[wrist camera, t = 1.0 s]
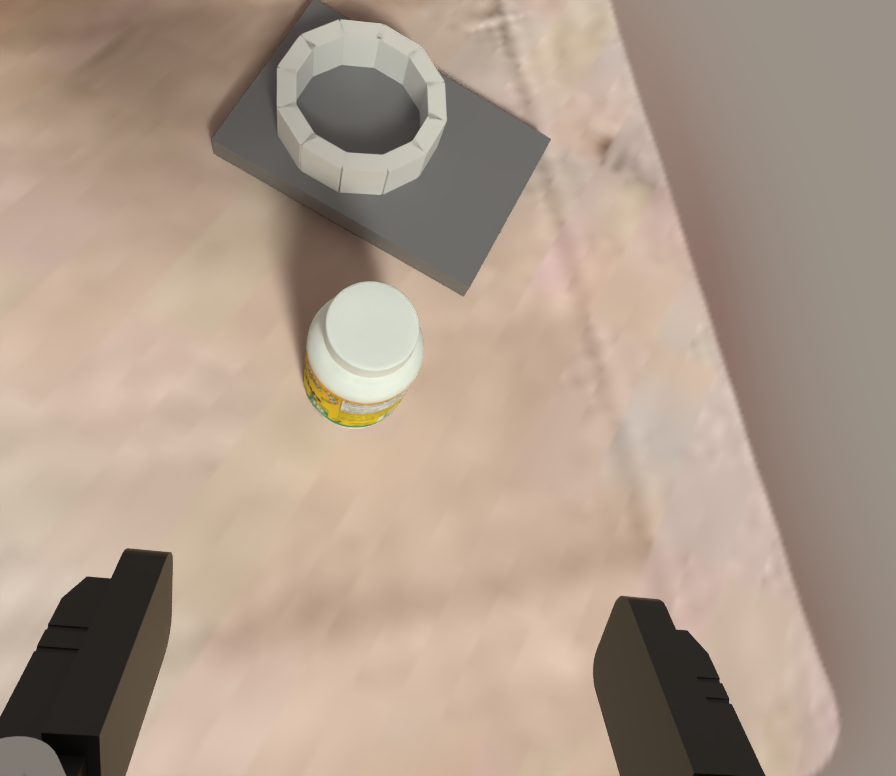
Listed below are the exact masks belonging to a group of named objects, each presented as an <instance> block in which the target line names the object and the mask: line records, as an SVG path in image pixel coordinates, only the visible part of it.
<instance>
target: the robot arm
mask: <svg viewBox="0 0 896 776" xmlns="http://www.w3.org/2000/svg"><path fill="white" fill-rule="evenodd" d="M172 575H173V556H172V553H171V552H161V551H151V550H140V549H129V548H127V549H125V550H124V552H123V554H122V556H121V558H120V560H119V562H118V564H117V567H116V569H115V571H114V573H113V575H112V578H111V579H109V578H97V577H86V578H85V579H83V580H82V581H81V582H80V583H79V584H78V585H76V586H75V587H74V588H73V589H72V590H71V591H70V592H68V593H67V594H66V595H65V596H64V597H63V598H62V599H61V601H60V603H59V605H58V606H57V608H56V610H55V612H54V614H53V616H52V618H51V620H50V622H49V624H48V628H47V630H45V632H44V633H43V635H42V637H41V639H40V641H39V643H38V645H37V650H36V651H34V653H33V655H32V657H31V659H30V660H29V662H28V664H27V666H26V668H25V670H24V672H23V674H22V676H21V678H20V680H19V682H18V684H17V686H16V687H15V689H14V691H13V693H12V695H11V697H10V699H9V701H8V703H7V705H6V707H5V709H4V711H3V713H2V714H1V716H0V776H125V775H126V772H127V769H128V766H129V763H130V760H131V757H132V754H133V751H134V748H135V745H136V742H137V739H138V735H139V732H140V729H141V726H142V723H143V720H144V717H145V714H146V711H147V708H148V705H149V702H150V699H151V695H152V692H153V689H154V686H155V683H156V680H157V677H158V674H159V671H160V668H161V665H162V662H163V659H164V655H165V652H166V648H167V644H168V639H169V634H170V627H171V617H172ZM593 679H594V686H595V690H596V694H597V697H598V701H599V704H600V708H601V711H602V715H603V718H604V722H605V725H606V729H607V732H608V736H609V739H610V742H611V746H612V749H613V753H614V756H615V760H616V763H617V767H618V770H619V774H620V776H765V774H764V772H763V770H762V768H761V766H760V763H759V761H758V759H757V757H756V755H755V753H754V751H753V748H752V746H751V744H750V742H749V740H748V738H747V736H746V734H745V731H744V729H743V727H742V725H741V723H740V721H739V719H738V716H737V714H736V712H735V710H734V708H733V706H732V704H729V697H728V695H727V693H726V691H725V689H724V687H723V684H722V683H720V682H719V679H720V678H719V676H718V674H717V672H716V669H715V667H714V665H713V663H712V661H711V659H710V657H709V654H708V653H707V652H706V651H705V650H704V648H703V647H702V646H701V645H700V644H699V643H698V642H697V641H696V640H695V639H694V637H693V636H692V635H691V634H690V633H689V632H688V631H686V630H676V629H675V626H674V624H673V622H672V619H671V617H670V615H669V613H668V610H667V608H666V606H665V604H664V603H663V602H662V601H661V600H659V599H649V598H638V597H628V596H620V597H619V598H618V599H617V600H616V602H615V604H614V607H613V609H612V612H611V614H610V617H609V620H608V622H607V625H606V627H605V630H604V633H603V635H602V638H601V640H600V643H599V645H598V648H597V651H596V654H595V658H594V665H593Z"/></svg>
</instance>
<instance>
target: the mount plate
mask: <svg viewBox="0 0 896 776" xmlns="http://www.w3.org/2000/svg"><path fill="white" fill-rule="evenodd" d="M211 140H212V146H213V152H214V154H216V155H217V156H219V157H221V158H223V159H224V160H226V161H228V162H230V163H231V164H233V165H235V166H237V167H238V168H240V169H242V170H244V171H245V172H247V173H249V174H251V175H252V176H254V177H256V178H258V179H259V180H261V181H263V182H265V183H266V184H268V185H270V186H272V187H273V188H275V189H277V190H278V191H280V192H282V193H284V194H285V195H287V196H289V197H291V198H292V199H294V200H296V201H298V202H299V203H301V204H303V205H305V206H306V207H308V208H310V209H312V210H313V211H315V212H317V213H319V214H320V215H322V216H324V217H326V218H327V219H329V220H331V221H333V222H334V223H336V224H338V225H340V226H341V227H343V228H345V229H347V230H348V231H350V232H352V233H354V234H355V235H357V236H359V237H361V238H362V239H364V240H366V241H368V242H369V243H371V244H373V245H375V246H376V247H378V248H380V249H382V250H383V251H385V252H387V253H389V254H390V255H392V256H394V257H396V258H397V259H399V260H401V261H403V262H404V263H406V264H408V265H410V266H411V267H413V268H415V269H417V270H418V271H420V272H422V273H424V274H425V275H427V276H429V277H430V278H432V279H434V280H436V281H437V282H439V283H441V284H443V285H444V286H446V287H448V288H450V289H451V290H453V291H455V292H457V293H458V294H460V295H462V296H464V295H465V294H466V292H467V291H468V289H469V287H470V286H471V284H472V282H473V280H474V278H475V277H476V275H477V273H478V271H479V269H480V268H481V266H482V264H483V262H484V260H485V258H486V257H487V255H488V253H489V251H490V249H491V248H492V246H493V244H494V242H495V240H496V238H497V237H498V235H499V233H500V231H501V229H502V228H503V226H504V224H505V222H506V220H507V218H508V217H509V215H510V213H511V211H512V209H513V207H514V206H515V204H516V202H517V200H518V198H519V197H520V195H521V193H522V191H523V189H524V187H525V186H526V184H527V182H528V180H529V178H530V177H531V175H532V173H533V171H534V169H535V167H536V166H537V164H538V162H539V160H540V158H541V157H542V155H543V153H544V151H545V149H546V147H547V146H548V144H549V142H550V140H551V139H550V138H548V137H547V136H545V135H543V134H542V133H540V132H538V131H537V130H535V129H533V128H532V127H530V126H528V125H527V124H525V123H523V122H522V121H520V120H518V119H517V118H515V117H513V116H511V115H510V114H508V113H506V112H505V111H503V110H501V109H500V108H498V107H496V106H495V105H493V104H491V103H490V102H488V101H486V100H485V99H483V98H481V97H479V96H478V95H476V94H474V93H473V92H471V91H469V90H468V89H466V88H464V87H463V86H461V85H459V84H458V83H456V82H454V81H453V80H451V79H449V78H447V77H446V76H444V75H442V74H441V73H439V72H438V71H437V69H436V67H435V66H434V64H433V63H432V61H431V60H430V58H429V57H428V55H427V54H426V52H425V51H424V49H423V48H421V46H420V45H418V44H417V43H415V42H413V41H412V40H410V39H408V38H407V37H405V36H403V35H402V34H400V33H398V32H397V31H395V30H393V29H392V28H390V27H388V26H386V25H385V24H384V26H383V24H381V23H371V22H362V21H352V20H350V19H348V18H347V17H345V16H343V15H341V14H340V13H338V12H336V11H335V10H333V9H331V8H330V7H328V6H326V5H325V4H323V3H321V2H320V1H318V0H312V2H311V3H310V5H309V6H308V7H307V9H306V10H305V11H304V13H303V14H302V16H301V17H300V18H299V20H298V21H297V22H296V24H295V25H294V26H293V28H292V29H291V31H290V32H289V33H288V35H287V36H286V37H285V39H284V40H283V42H282V43H281V44H280V46H279V47H278V48H277V50H276V51H275V52H274V54H273V55H272V57H271V58H270V59H269V61H268V62H267V63H266V65H265V66H264V68H263V69H262V70H261V72H260V73H259V74H258V76H257V77H256V78H255V80H254V81H253V83H252V84H251V85H250V87H249V88H248V89H247V91H246V92H245V94H244V95H243V96H242V98H241V99H240V100H239V102H238V103H237V104H236V106H235V107H234V109H233V110H232V111H231V113H230V114H229V115H228V117H227V118H226V120H225V121H224V122H223V124H222V125H221V126H220V128H219V129H218V130H217V132H216V133H215V135H214V136H213V137H212V139H211Z"/></svg>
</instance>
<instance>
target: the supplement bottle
mask: <svg viewBox="0 0 896 776" xmlns="http://www.w3.org/2000/svg"><path fill="white" fill-rule="evenodd" d="M423 354H424V342H423V336H422V332H421V329H420V326H419V319H418V315H417V312H416V310H415V308H414V306H413V304H412V303H411V301H410V300H409V299H408V298H407V297H406V296H405V295H404V294H403V293H402V292H401V291H399V290H398V289H396V288H395V287H393V286H391V285H388V284H385V283H382V282H376V281H364V282H358V283H355V284H353V285H350V286H348V287H346V288H345V289H343V290H342V291H341V292H339V293H338V294H337V295H336V296H335V297H334V298H332V299H331V300H329V301H328V302H327V303H325V304H324V305H323V306H322V307H321V308H320V310H319V311H318V312H317V313H316V315H315V317H314V318H313V320H312V322H311V325H310V328H309V331H308V335H307V342H306V354H305V367H304V387H305V391H306V395H307V397H308V399H309V401H310V403H311V404H312V406H313V407H314V408H315V409H316V410H317V412H318V413H319V414H320V415H321V416H322V417H323V418H325V419H326V420H327V421H329V422H331V423H332V424H334V425H337V426H340V427H343V428H349V429H360V428H366V427H370V426H373V425H375V424H377V423H380V422H381V421H383V420H384V419H386V418H387V417H388V416H389V415H390V414H391V413H392V412H393V411H394V410H395V408H396V407H397V406H398V404H399V403H400V401H401V400H402V398H403V397H404V395H405V393H406V392H407V390H408V389H409V387H410V386H411V384H412V382H413V381H414V379H415V377H416V376H417V374H418V372H419V370H420V367H421V364H422V360H423Z"/></svg>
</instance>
